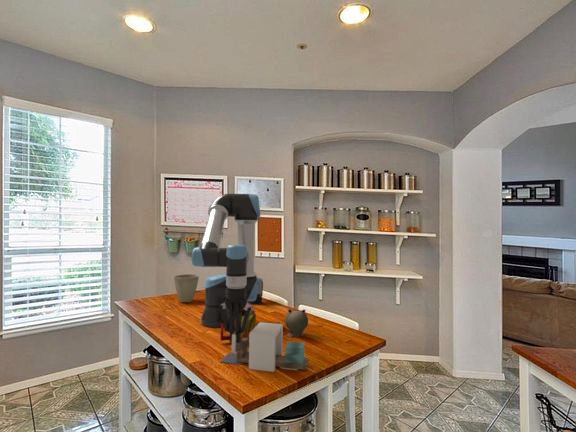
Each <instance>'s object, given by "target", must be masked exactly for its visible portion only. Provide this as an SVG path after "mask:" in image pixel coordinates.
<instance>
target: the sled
mask: <svg viewBox="0 0 576 432" xmlns="http://www.w3.org/2000/svg"><path fill="white" fill-rule="evenodd" d="M284 347H285V348H284V355H283V354H282V355H275V367H279V368H280V367H286V368H295V369H298V370H304V371H305V370H307V369H308V368H307V367H308V365H309V359H310V358H308V357H305V342H299V341H287V343H286V345H285V346H284ZM236 353H237V362H243V364H244V363H245V364H249V345H248V338H242V339H241V340H240V341H239V342H238V343H237V352H236Z"/></svg>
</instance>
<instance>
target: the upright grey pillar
mask: <svg viewBox="0 0 576 432" xmlns="http://www.w3.org/2000/svg"><path fill="white" fill-rule="evenodd" d="M283 328H284V324H283V323H273V322H272V323H271V322H260V321H259V323H257V324H256V327H255V328H254V329H253V330H252V331H251V332H250V333H249V345H248V352H249V363H248V369H249V370H255V371H256V370H257V371H264V372H271V373H272V372H273V373H274V372H275V371H276V366H275V355H283V337H284V336H283V335H284V334H283V333H284V331H283V330H284V329H283Z"/></svg>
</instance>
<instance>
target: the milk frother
mask: <svg viewBox="0 0 576 432" xmlns="http://www.w3.org/2000/svg"><path fill="white" fill-rule="evenodd" d="M258 278H259V285H258V292H257V298H256V300H255V301H248V302H247V304H248V305H252V306H253V305H261V304H263V291H264V281H263V280H264V279H263V278H260V277H258Z"/></svg>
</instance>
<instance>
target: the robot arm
mask: <svg viewBox="0 0 576 432" xmlns="http://www.w3.org/2000/svg"><path fill="white" fill-rule="evenodd" d="M213 200H214V201H212V202H211V204H210V205H209V208H208V211H207V214H208V215H207V216H208V218H207V222H206V225H205V229H204V233H203V236H202V239H201V243H200V247H199V246H198V247H194V248H193V249H192V251H191V263H192V266H194V267H202V268H207V267H208V268H211V267H212V268H213V267H214V268H215V267H217V268H218V267H220V268H221V267H222V268H226V273H224V274H216V275H212V276H208V277H207V278H206V280H205V284H204V288H205V289H204V309H203V311H202V315H201V317H200V324H201V325H202V326H204V327H208V328H221V319H223V324H224V327H223V330H224V332H225V333H226V332H227V333H229V336H230V340H229V342H230V343H231V353H237V343H238V342H239V341H240V340H241V333H243V332H244V331H246V327H247V323H248V320H249V316H250V312H251V310H253V309H254V306H253V305H251V304H248V301H255V300H256V298H257V292H258V285H259V278H260V277H257V273H256V272H255V268H254V266H255V228H256V227H255V224H256V223H257V222H258V219H259V218H261V216H262V215H261V207H260V199H259V196H258V194H252V193H224V194H222V195H220V196H218V197H217V198H216V199H213ZM228 217H231V218H232V217H233V218H234V221H235V223H236V224H237V232H236V233H237V234H236V235H237V236H236V240H237V241H236V244H229V245H227V247H220V245H221V240H222V236H223V231H224V226H225V221H226V220H227V219H228ZM243 309H245V310H246V312H245V316H244V320H243V323H242V327H241V321H242V310H243ZM235 313H236V332H234V331H235ZM228 318H230V320H229V319H228Z"/></svg>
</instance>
